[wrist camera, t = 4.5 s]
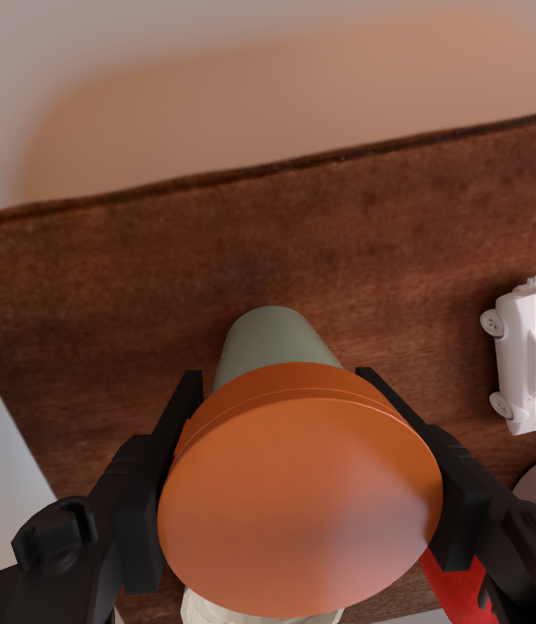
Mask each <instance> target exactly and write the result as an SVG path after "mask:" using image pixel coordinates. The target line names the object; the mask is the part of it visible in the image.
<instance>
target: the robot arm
mask: <svg viewBox="0 0 536 624" xmlns="http://www.w3.org/2000/svg"><path fill="white" fill-rule="evenodd" d="M355 374H356V375H358V376H360V377H361V378H363V379H364V380H366V381H368V382H369V383H371V384H372V385H373V386H374V387H375V388H376V389H378V390H379V391H380V392H381V393H382V394H383V395H384V396H385V397H386V399H387V400H388V401H389V402H390V403H391V404H392V405H393V406H394V408H395V409H396V410H397V411H398V412H399V413H400V414H401V415H402V417H403V418H404V419H405V420H406V421H407V422H408V423H409V425H410V426H411V427H412V428H413V429H414V430H415V431H416V432H417V434H418V435H419V436H420V437H421V438H422V439H423V441H424V442H425V443H426V444H427V446H428V447H429V449H430V450H431V452H432V454H433V456H434V457H435V459H436V462H437V464H438V467H439V470H440V473H441V477H442V483H443V507H442V512H441V517H440V520H439V523H438V526H437V529H436V531H435V533H434V535H433V537H432V539H431V541H430V543H429V545H428V548H429V549H430V551H431V553H432V554H433V556H434V558H435V560H436V561H437V563H438V565H439V566H440V568H441V570H442V571H443V572H457V571H469V570H470V567H471V564H472V561H473V558H474V555H475V556H476V557H477V558H478V560H479V561H480V563H481V564H482V565H483V567H484V568H485V569H486V573H485V576H484V579H483V582H482V584H481V587H480V590H479V593H478V596H477V601H478V606H479V609H482V610H484V609H485V606H486V603H487V601H488V598H490V601H491V604H492V607H491V613H492V614H495V615H496V617H497V619H498V622H499V624H536V504H535V503H533V502H530V501H527V500H520V499H519V498H518V497H517V496H516V495H515V494H513V493H512V492H511V491H510V490H509V489H508V488H507V487H506V486H505V485H504V484H503V483H502V482H501V481H500V480H499V479H498V478H497V477H495V476H494V475H493V474H492V473H491V472H490V471H489V470H488V469H487V468H486V467H485V466H484V465H483V464H482V463H481V462H480V461H479V460H477V459H476V458H474V457H473V455H472V454H471V453H470V452H469V451H468V450H467V449H466V448H463V445H462V444H461V443H459V442H458V441H457V440H456V439H455V438H454V437H453V436H452V435H451V434H450V433H448V432H446V431H445V430H443V429H442V428H440V427H438V426H437V425H427V424H426V423H425V422H424V421H423V420H422V419H421V418H420V417H419V416H418V415H417V414H416V413H415V412H414V411H413V410H412V409H411V408H410V407H409V406H408V405H407V404H406V403H405V402H404V401H403V400H402V399H401V398H400V397H399V395H398V394H397V393H396V392H395V391H394V390H393V389H392V388H391V387H390V386H389V385H388V384H387V383H386V382H385V381H384V380H383V379H382V378H381V377H380V376H379V375H378V374H377V373H376V372H375V371H374V370H373V369H372V368H371V367H356V371H355ZM203 402H204V395H203V378H202V370H186V371H185V373H184V375H183V377H182V378H181V380H180V382H179V384H178V386H177V388H176V390H175V391H174V393H173V395H172V397H171V399H170V401H169V403H168V405H167V406H166V408H165V410H164V412H163V414H162V416H161V418H160V419H159V421H158V423H157V425H156V427H155V429H154V431H153V433H152V434H150V435H133V436H132V437H131V438H130V439H129V440H128V441H126V442H125V443H124V444H123V445H122V446H121V447H120V448H119V450H118V451H117V453H116V454H115V456H114V457H113V459H112V462H111V463H109V465H108V466H107V468H106V469H105V471H104V474H103V475H102V476H101V477H100V479H99V480H98V482H97V483H96V485H95V486H94V488H93V489H92V491H91V492H90V494H89V495H88V497H87V498H86V497H81V496H72V497H67V498H63V499H61V500H58V501H56V502H54V503H52V504H50V505H48V506H46V507H45V508H43V509H42V510H40V511H39V512H37V513H36V514H35V515H33V516H32V517H31V518H30V519H29V520H28V521H27V522H26V523H25V524H24V525H23V526H22V527H21V528H20V529H19V531H18V533H17V534H16V535H15V537H14V539H13V540H12V542H11V545H12V548H13V551H14V554H15V557H16V560H17V563H18V564H16V565H13V566H10V567H8V568H5V569H2V570H0V624H115V610H114V603H115V600H116V597H117V595H118V592H119V590H120V587H121V585H122V582H123V583H124V588H125V593H126V595H135V594H149V593H157V591H158V587H159V583H160V580H161V576H162V573H163V569H164V565H165V562H166V559H165V557H164V554H163V552H162V550H161V547H160V543H159V537H158V530H157V509H158V502H159V499H160V495H161V492H162V489H163V486H164V483H165V481H166V478H167V475H168V473H169V470H170V467H171V464H172V462H173V459H174V455H173V454H174V452H175V449H176V446H177V444H178V441H179V438H180V436H181V433H182V430H183V428H184V425H185V422H186V420H187V419H189V420H190V419H191V417H192V416H193V414H194V413H195V412H196V410H197V409H198V408H199V406H200V405H201V404H202V403H203Z"/></svg>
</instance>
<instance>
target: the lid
mask: <svg viewBox="0 0 536 624" xmlns="http://www.w3.org/2000/svg"><path fill="white" fill-rule="evenodd" d="M173 455H174V459H173V462H172V464H171V467H170V470H169V473H168V475H167V478H166V481H165V483H164V486H163V489H162V492H161V495H160V499H159V502H158V509H157V530H158V537H159V543H160V547H161V550H162V552H163V554H164V557H165V559H166V561H167V563H168V564H169V566H170V567H171V569H172V570H173V572H174V573H175V574H176V575H177V576H178V578H179V579H180V580H181V581H182V582H183V583H184V584H185V585H186V586H187V587H189V588H190V589H191V590H192V591H193V592H195V593H196V594H198V595H199V596H201V597H203V598H204V599H206V600H207V601H209V602H212V603H214V604H216V605H218V606H220V607H223V608H225V609H228V610H231V611H234V612H238V613H242V614H246V615H251V616H258V617H265V618H299V617H307V616H315V615H319V614H324V613H329V612H332V611H336V610H339V609H342V608H346V607H348V606H351V605H353V604H356V603H358V602H361V601H363V600H365V599H367V598H369V597H371V596H373V595H375V594H376V593H378V592H380V591H381V590H383V589H384V588H386V587H388V586H389V585H390V584H392V583H393V582H394V581H396V580H397V579H398V578H400V577H401V576H402V575H403V574H404V573H405V572H406V571H407V570H408V569H409V568H410V567H412V565H413V564H414V563H415V562H416V561H417V560H418V558H419V557H420V556H421V555H422V554H423V552H424V551H425V549H426V548H427V546H428V545H429V543H430V541H431V539H432V537H433V535H434V533H435V531H436V529H437V526H438V523H439V520H440V517H441V512H442V507H443V483H442V477H441V473H440V470H439V467H438V464H437V462H436V459H435V457H434V456H433V454H432V452H431V450H430V449H429V447H428V446H427V444H426V443H425V442H424V441H423V439H422V438H421V437H420V436H419V435H418V434H417V432H416V431H415V430H414V429H413V428H412V427H411V426H410V425H409V423H408V422H407V421H406V420H405V419H404V418H403V417H402V415H401V414H400V413H399V412H398V411H397V410H396V409H395V408H394V406H393V405H392V404H391V403H390V402H389V401H388V400H387V399H386V397H385V396H384V395H383V394H382V393H381V392H380V391H379V390H378V389H376V388H375V387H374V386H373V385H372V384H371V383H369V382H368V381H366V380H364V379H363V378H361V377H360V376H358V375H356V374H354V373H351V372H349V371H347V370H344V369H341V368H338V367H335V366H331V365H326V364H320V363H314V362H287V363H279V364H274V365H269V366H264V367H261V368H258V369H255V370H252V371H249V372H247V373H245V374H242V375H240V376H238V377H236V378H234V379H233V380H231V381H229V382H228V383H226V384H225V385H223V386H221V387H220V388H219V389H218V390H216V391H215V392H214V393H213V394H211V395H210V396H209V397H208V398H207V399H206V400H205V401H204V402H203V403H202V404H201V405H200V406H199V408H198V409H197V410H196V412H195V413H194V414H193V416H192V417H191V419H190V420H189V419H187V420H186V422H185V425H184V428H183V430H182V433H181V436H180V438H179V441H178V444H177V446H176V449H175V452H174V454H173Z"/></svg>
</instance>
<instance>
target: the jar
mask: <svg viewBox="0 0 536 624" xmlns="http://www.w3.org/2000/svg"><path fill="white" fill-rule="evenodd" d="M287 362H314V363H320V364H326V365H331V366H335V367H338V368H341V369H344V367H343V366H342V365H341V363H340V362H339V361H338V359H337V358H336V357H335V355H334V354H333V353H332V351H331V350H330V349H329V347H328V346H327V345H326V344H325V342H324V341H323V340H322V338H321V337H320V336H319V334H318V333H317V332H316V330H315V329H314V328H313V326H312V325H311V324H310V323H309V321H308V320H307V319H306V318H305V317H303V316H302V315H301V314H299V313H298V312H296V311H294V310H292V309H289V308H286V307H282V306H263V307H259V308H256V309H253V310H251V311H249V312H247V313H245V314H244V315H242V316H241V317H240V318H239V319H238V320H237V321H236V322H235V323H234V324H233V325H232V327H231V328H230V330H229V331H228V333H227V336H226V339H225V342H224V345H223V349H222V352H221V356H220V359H219V363H218V366H217V370H216V374H215V377H214V381H213V384H212V388H211V391H210V395H211V394H213V393H214V392H215V391H216V390H218V389H219V388H220V387H221V386H223V385H225V384H226V383H228V382H229V381H231V380H233V379H234V378H236V377H238V376H240V375H242V374H245V373H247V372H249V371H252V370H255V369H258V368H261V367H264V366H269V365H274V364H279V363H287ZM344 370H345V369H344ZM210 395H209V396H210Z"/></svg>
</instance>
